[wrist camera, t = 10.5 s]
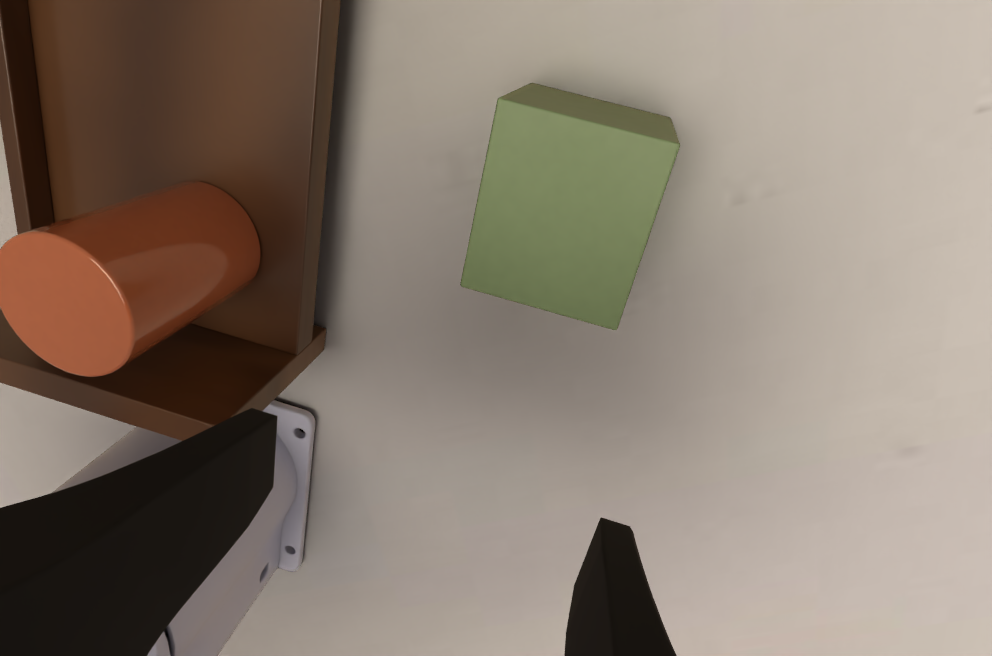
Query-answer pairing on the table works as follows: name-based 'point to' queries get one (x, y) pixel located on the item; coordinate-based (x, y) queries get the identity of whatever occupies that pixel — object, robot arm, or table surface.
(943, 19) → the table surface
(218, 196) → the terracotta cylinder
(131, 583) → the robot arm
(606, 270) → the green block
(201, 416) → the shelf
